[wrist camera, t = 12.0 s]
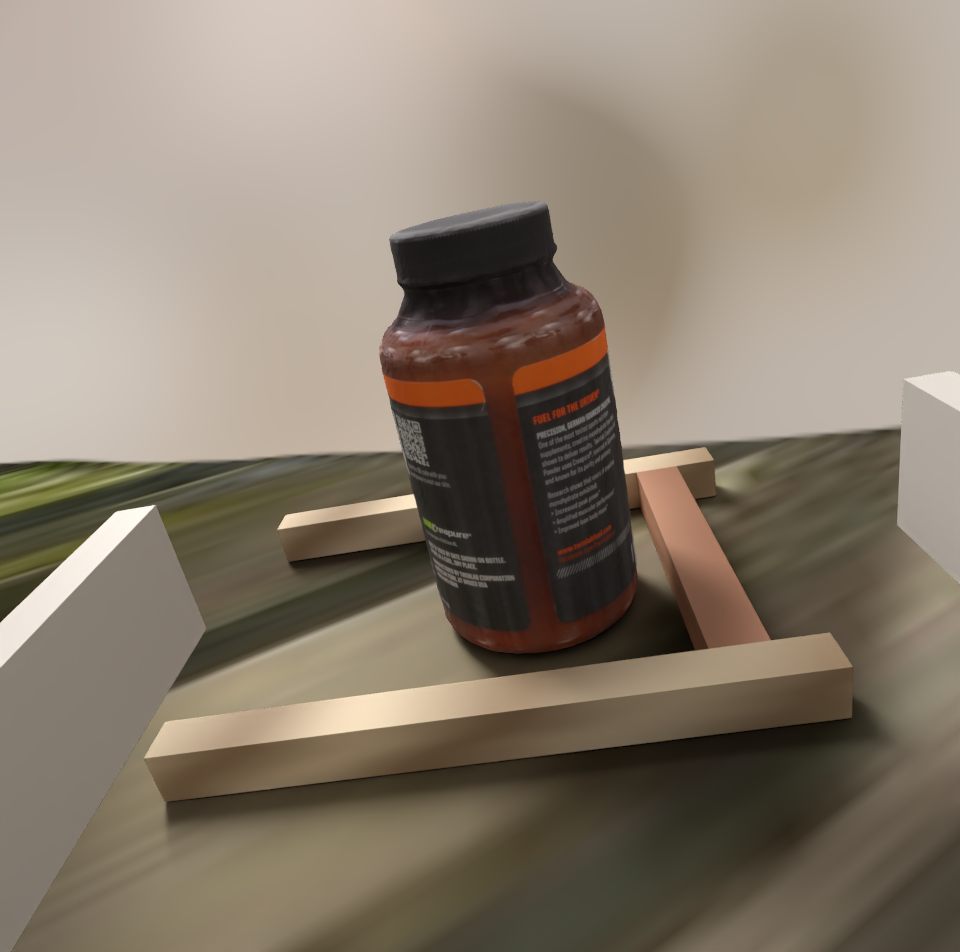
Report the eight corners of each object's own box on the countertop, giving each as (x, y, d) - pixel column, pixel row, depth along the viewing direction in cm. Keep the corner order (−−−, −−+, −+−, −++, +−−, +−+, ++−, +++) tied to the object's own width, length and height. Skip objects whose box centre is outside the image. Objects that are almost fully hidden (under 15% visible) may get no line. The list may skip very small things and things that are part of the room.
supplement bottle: (660, 556, 23) (621, 180, 19) (610, 679, 19) (542, 217, 14) (491, 545, 26) (422, 214, 22) (410, 651, 21) (299, 254, 17)
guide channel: (164, 801, 18) (143, 758, 17) (296, 546, 29) (285, 514, 28) (852, 717, 16) (852, 666, 16) (707, 481, 27) (705, 447, 27)
